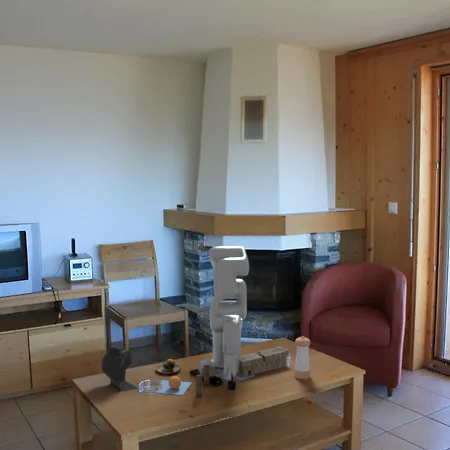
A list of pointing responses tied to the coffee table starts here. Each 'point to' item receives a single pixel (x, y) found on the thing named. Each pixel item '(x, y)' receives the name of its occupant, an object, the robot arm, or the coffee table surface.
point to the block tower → (262, 361)
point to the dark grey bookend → (117, 368)
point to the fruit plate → (169, 367)
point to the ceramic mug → (211, 368)
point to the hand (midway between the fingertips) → (231, 389)
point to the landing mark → (168, 390)
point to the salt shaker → (302, 358)
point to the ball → (174, 382)
